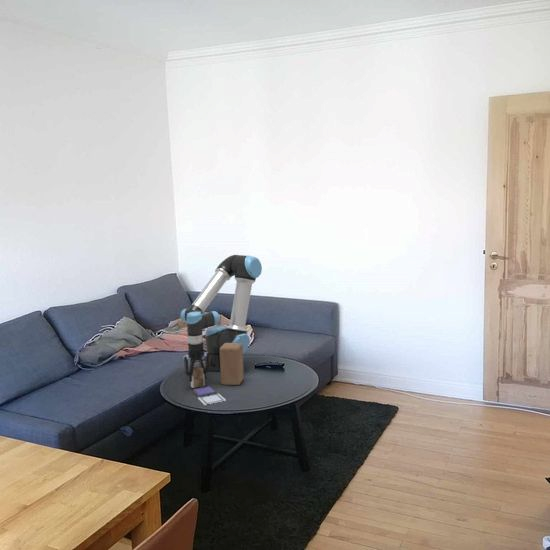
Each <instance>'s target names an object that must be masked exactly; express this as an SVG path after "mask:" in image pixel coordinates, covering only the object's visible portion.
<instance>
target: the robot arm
mask: <svg viewBox="0 0 550 550" xmlns="http://www.w3.org/2000/svg"><path fill="white" fill-rule="evenodd" d="M262 271H263V270H262V262H261V260H260V259H259V258H258V257H257V256H253V255H242V254H232V255H229V256H227V257H226V258H225V259H223V260H222V261H221V262H220V263H219V264H218V266H217V267H216V269H214V272H215V273H214V274H213V275H212V277H211V278H210V279H209V281H208V282H207V283H206V285H205V286H204V287H203V289H202V290H201V292H199V294H198V295H197V297H196V298H195V300H194V301H193V302H192V304H191V305H190V306H189V307H188V308H184V309H182V310H181V312H180V315H179V316H180V317H179V318H180V320H181V322H183V323H185V324H186V330H187V331H186V332H187V343H188V344H187V346H188V347H187V349H188V350H187V351H188V352H187V354H186V355H183V356H182V358H183V363H184V367H183V368H184V374H185V376H188V381H189V382H190V387H191V388H192V389H194V377H193V375H192V372H193V367H195V363H196V362H197V361H198V362H199V366H201V367H202V368H203V374H204V387H205V385H206V384H205V383H206V382H205V380H206V379H207V373H209V372H221V370H220V347H221V346H222V345H223V344H224V343H241V344H242V349H243V354H244V353H245V352H247V350H248V349H249V346H250V343H251V338H250V336H249V334H248V329H247V328H246V323H247V317H248V311H249V305H250V299H251V294H252V287H253V284H254V283H255V282H256V280H257V279H258V278H259V277H260V275H262ZM232 277H234V280H235V281H236V283H235V285H236V286H235V290H234V297H233V301H232V308H231V314H230V320H229V325H227V326H226V325H218V324H219V323H220V321H221V317H220V314H219V313H218V312H217V311H215V310H213V311H209V312H208V311H206V309H207V308H208V306H209V305H210V304H211V302H213V300H214V299H215V297H216V295H218V293H219V292H220V290H221V289H222V288H223V286H224V285H225V284H226V282H227V281H229V280H230V279H232ZM203 330H205V335H203ZM204 336H205V348H206V351H204ZM203 357H204V360H203ZM189 358H190V359H189ZM189 360H190V362H189Z"/></svg>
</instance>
